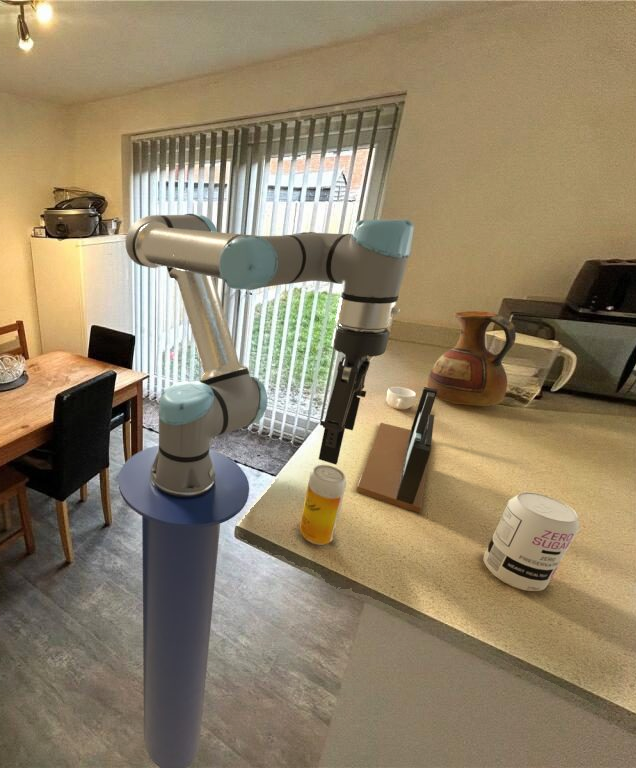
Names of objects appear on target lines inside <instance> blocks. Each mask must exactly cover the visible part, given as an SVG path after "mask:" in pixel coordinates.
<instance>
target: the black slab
mask: <svg viewBox="0 0 636 768" xmlns="http://www.w3.org/2000/svg"><path fill="white" fill-rule="evenodd" d="M434 394H435V393H430V392H428V393H427V396H426V399H425V403H424V406H423V409H422V412H420V413H419V416H418V419H417V422H416V426H415V429H414V432H413V435H412V438H411V442H410V445H409V448H408V452H407V458H406V463H405V468H406V465H407V462H408V459H409V456H410V452H411V449H412V446H413V443H418V444H420V442H421V435H422V434H423V430H424V427H425V424H426V421H427V418H428V415H429V412H430V409H431V406H432V402H433V399H434ZM405 468H404V471H405ZM403 475H404V472H403ZM402 478H403V477H402Z"/></svg>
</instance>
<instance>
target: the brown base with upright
mask: <svg viewBox="0 0 636 768" xmlns="http://www.w3.org/2000/svg"><path fill="white" fill-rule="evenodd" d="M437 390H438V389H433V388H428V386H423V388H422V392H421V395H420V399H419V402H418V405H417V409H416V412H415V415H414V418H413V421H412V425H411V427H410V428H404V427H400V426H397V425H393V424H388V423H383V422H380V423H379V425H378V428H377V431H376V434H375V437H374V439H373V442H372V444H371V448H370V450H369V453H368V456H367V459H366V461H365V465H364V467H363V470H362V472H361V476H360V478H359V481H358V483H357V487H356V489H355V490H356V493H359V494H362V495H364V496H368V497H370V498H374V499H376V500H380V501H383V502H385V503H388V504H391V505H394V506H397V507H400V508H403V509H406V510H409V511H412V512H414V513H417V514H420V513H421V510H422V505H423V496H424V489H425V481H426V471H427V464H428V461H429V458H430V456H431V452H432V441H433V432H434V425H435V424H434V423H435V414H431V413H432V410H433V406H434V403H435V401H436V398H437V397H436V395H437ZM428 392H430V393H435V394H434V399H433V402H432V406H431V409H430V412H429V415H428V418H427V421H426V424H425V427H424V430H423V434H422V435H421V442H420V444H418V443H413V446H412V449H411V452H410V456H409V459H408V462H407V465H406V468H405V463H406V458H407V452H408V448H409V445H410V442H411V438H412V435H413V432H414V429H415V426H416V422H417V419H418V416H419V413H420V412H422V409H423V406H424V403H425V399H426V396H427V393H428ZM404 468H405V471H404ZM403 472H404V475H403ZM402 477H403V478H402Z"/></svg>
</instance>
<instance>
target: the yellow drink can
mask: <svg viewBox="0 0 636 768" xmlns="http://www.w3.org/2000/svg"><path fill="white" fill-rule="evenodd" d="M346 487H347V480H346V475H345V473H344V471H342V470H340V468H337V467H335V466H333V465H327V464H318V465H316V466H314V467H313V469H312V470H311V471H310V473H309V477H308V482H307V488H306V492H305V498H304V503H303V508H302V513H301V518H300V523H299V532H300V534H301V535H302V536H303V538H304V539H305V540H306V541H308V542H309V543H311V544H314V545H317V546H318V545H319V546H323V545H327V544H329V543H331V542H332V541H333V539H334V535H335V533H336V532H335V531H336V527H337V524H338V520H339V514H340V511H341V507H342V504H343V503H342V502H343V499H344V496H345V495H344V494H345V491H346Z"/></svg>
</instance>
